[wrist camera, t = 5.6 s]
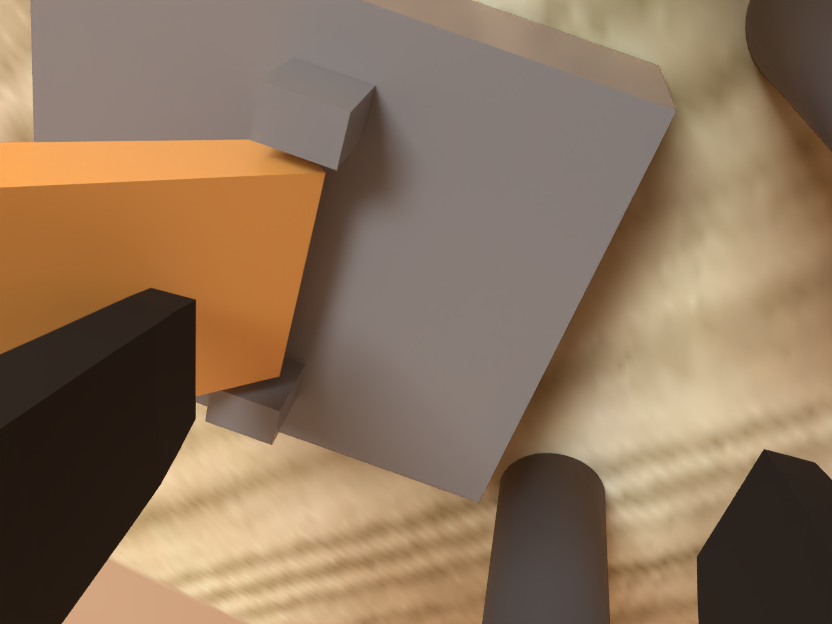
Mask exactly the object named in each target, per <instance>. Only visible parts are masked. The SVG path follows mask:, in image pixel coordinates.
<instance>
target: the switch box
mask: <svg viewBox="0 0 832 624" xmlns="http://www.w3.org/2000/svg"><path fill="white" fill-rule="evenodd" d="M31 36H32V76H33V116H34V142H90V141H171V140H252V141H255V142H257V143H260V144H263V145H266V146H269V147H272V148H274V149H277V150H280V151H283V152H286V153H289V154H291V155H294V156H297V157H300V158H303V159H306V160H308V161H311V162H314V163H317V164H318V165H319V166H320V167H321V168H322V169H323V170H324V171H325V172H326V174H325V178H324V182H323V187H322V191H321V196H320V200H319V204H318V209H317V213H316V218H315V222H314V226H313V231H312V235H311V240H310V244H309V248H308V253H307V257H306V262H305V266H304V270H303V275H302V279H301V284H300V288H299V292H298V297H297V301H296V306H295V310H294V314H293V319H292V323H291V328H290V332H289V336H288V341H287V345H286V350H285V354H284V358H283V363H282V367H281V372H280V376H279V377H275V378H271V379H267V380H262V381H258V382H254V383H250V384H246V385H242V386H237V387H233V388H229V389H225V390H221V391H216V392H212V393H208V394H204V395H200V396H196V402H197V403H200V404H202V405H205V406H208V408H207V414H206V422H209V423H212V424H214V425H217V426H220V427H223V428H226V429H229V430H231V431H234V432H237V433H240V434H243V435H245V436H248V437H251V438H254V439H257V440H259V441H262V442H265V443H268V444H271V445H272V444H273V442H274V440H275V438H276V436H277V434H278V432H281V433H284V434H287V435H290V436H292V437H295V438H298V439H301V440H304V441H307V442H309V443H312V444H315V445H318V446H321V447H323V448H326V449H329V450H332V451H335V452H338V453H340V454H343V455H346V456H349V457H352V458H354V459H357V460H360V461H363V462H366V463H368V464H371V465H374V466H377V467H380V468H383V469H385V470H388V471H391V472H394V473H397V474H399V475H402V476H405V477H408V478H411V479H413V480H416V481H419V482H422V483H425V484H428V485H430V486H433V487H436V488H439V489H442V490H444V491H447V492H450V493H453V494H456V495H458V496H461V497H464V498H467V499H470V500H473V501H475V502H478V503H479V501H480V499H481V497H482V495H483V493H484V491H485V489H486V487H487V485H488V483H489V481H490V479H491V477H492V475H493V473H494V471H495V469H496V467H497V465H498V463H499V461H500V459H501V457H502V455H503V453H504V451H505V449H506V447H507V445H508V443H509V441H510V439H511V437H512V435H513V433H514V431H515V429H516V427H517V425H518V424H519V422H520V420H521V418H522V416H523V414H524V412H525V410H526V408H527V406H528V404H529V402H530V400H531V398H532V396H533V394H534V392H535V390H536V388H537V386H538V384H539V382H540V380H541V378H542V376H543V374H544V372H545V370H546V368H547V366H548V364H549V362H550V360H551V358H552V356H553V354H554V352H555V350H556V348H557V346H558V344H559V342H560V340H561V338H562V336H563V334H564V332H565V330H566V328H567V326H568V324H569V322H570V320H571V318H572V316H573V315H574V313H575V311H576V309H577V307H578V305H579V303H580V301H581V299H582V297H583V295H584V293H585V291H586V289H587V287H588V285H589V283H590V281H591V279H592V277H593V275H594V273H595V271H596V269H597V267H598V265H599V263H600V261H601V259H602V257H603V255H604V253H605V251H606V249H607V247H608V245H609V243H610V241H611V239H612V237H613V235H614V233H615V231H616V229H617V227H618V225H619V223H620V221H621V219H622V217H623V215H624V213H625V211H626V209H627V207H628V205H629V204H630V202H631V200H632V198H633V196H634V194H635V192H636V190H637V188H638V186H639V184H640V182H641V180H642V178H643V176H644V174H645V172H646V170H647V168H648V166H649V164H650V162H651V160H652V158H653V156H654V154H655V152H656V150H657V148H658V146H659V144H660V142H661V140H662V138H663V136H664V134H665V132H666V130H667V128H668V126H669V124H670V122H671V120H672V118H673V116H674V114H675V112H676V108H675V106H674V103H673V101H672V98H671V96H670V93H669V90H668V88H667V85H666V83H665V80H664V78H663V75H662V73H661V70H660V68H659V66H658V65H655V64H652V63H649V62H646V61H644V60H641V59H638V58H635V57H632V56H629V55H626V54H624V53H621V52H618V51H615V50H612V49H609V48H606V47H604V46H601V45H598V44H595V43H592V42H589V41H586V40H584V39H581V38H578V37H575V36H572V35H569V34H566V33H564V32H561V31H558V30H555V29H552V28H549V27H546V26H544V25H541V24H538V23H535V22H532V21H529V20H526V19H524V18H521V17H518V16H515V15H512V14H509V13H506V12H503V11H501V10H498V9H495V8H492V7H489V6H486V5H483V4H481V3H478V2H475V1H472V0H31Z"/></svg>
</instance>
